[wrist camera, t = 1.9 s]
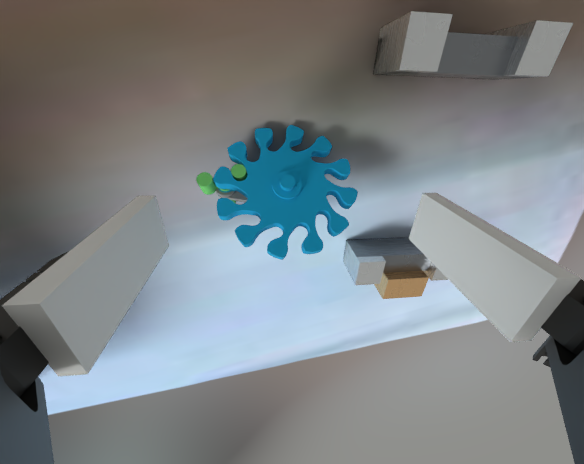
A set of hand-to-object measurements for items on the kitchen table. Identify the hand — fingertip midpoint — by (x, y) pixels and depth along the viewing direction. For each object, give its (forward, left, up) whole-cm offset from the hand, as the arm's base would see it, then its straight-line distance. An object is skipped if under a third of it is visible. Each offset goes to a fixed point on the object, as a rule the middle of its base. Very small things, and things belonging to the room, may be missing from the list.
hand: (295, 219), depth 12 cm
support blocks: (+12, 0, -9) cm, 15 cm away
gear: (0, 0, -9) cm, 9 cm away
